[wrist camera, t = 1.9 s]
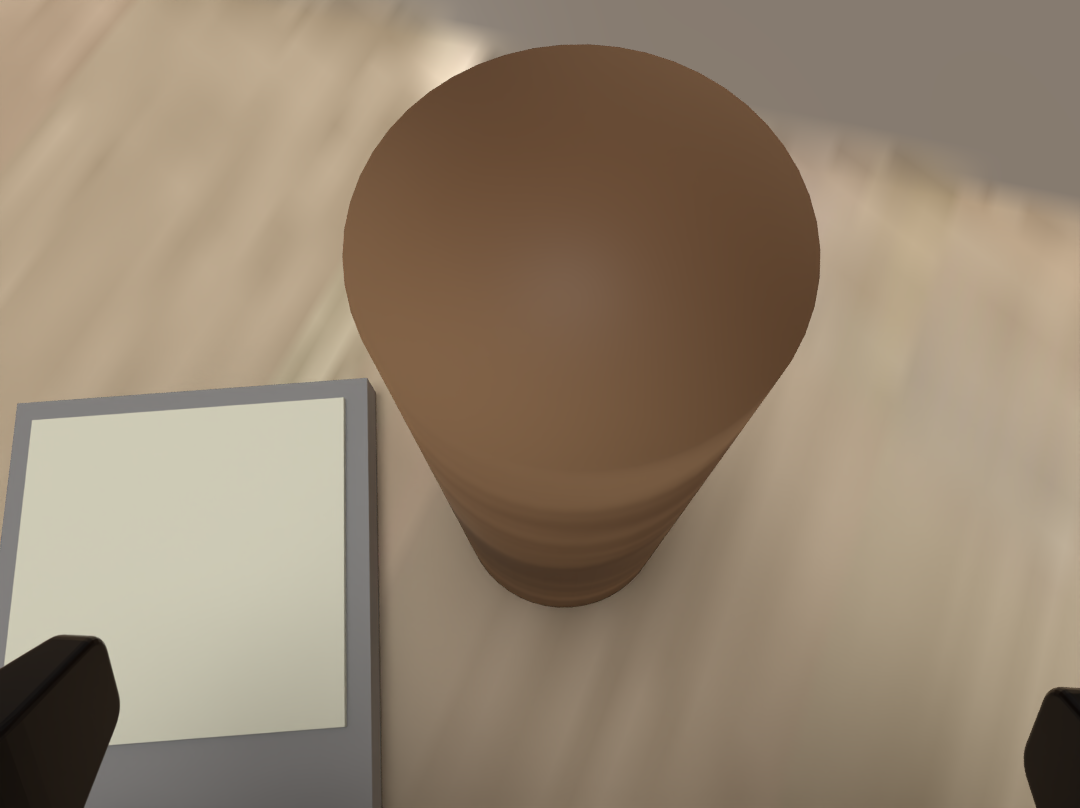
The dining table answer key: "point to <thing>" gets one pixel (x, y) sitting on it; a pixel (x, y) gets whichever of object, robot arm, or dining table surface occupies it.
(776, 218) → the walnut roller
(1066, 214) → the dining table surface
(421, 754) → the dining table surface
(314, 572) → the grey stand
